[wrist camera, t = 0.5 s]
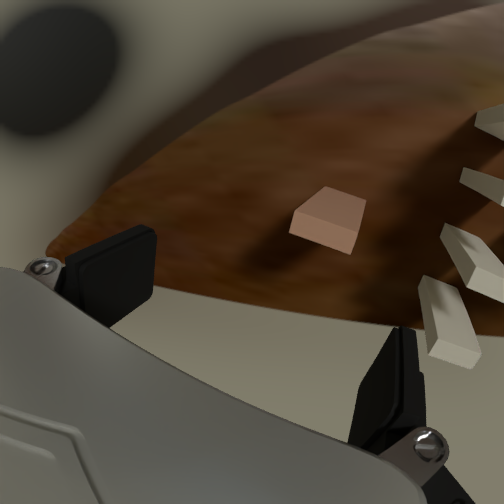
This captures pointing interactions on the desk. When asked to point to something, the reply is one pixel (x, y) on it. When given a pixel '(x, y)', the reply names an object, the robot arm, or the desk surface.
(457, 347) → the domino
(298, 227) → the domino
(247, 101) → the desk surface
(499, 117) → the domino
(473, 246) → the domino
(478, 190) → the domino
